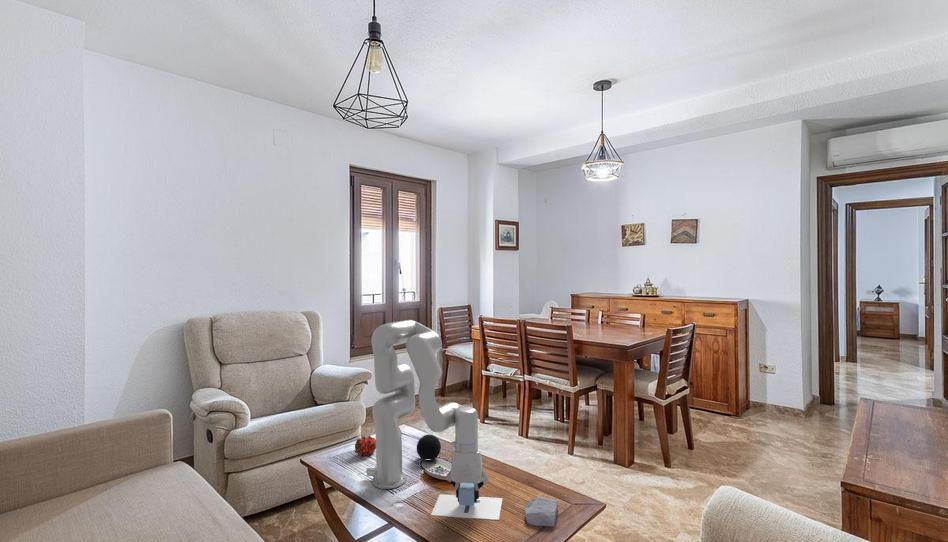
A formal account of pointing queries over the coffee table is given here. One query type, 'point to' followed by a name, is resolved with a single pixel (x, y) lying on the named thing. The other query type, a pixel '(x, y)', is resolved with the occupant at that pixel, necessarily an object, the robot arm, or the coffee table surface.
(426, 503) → the coffee table surface
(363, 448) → the dragon fruit
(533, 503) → the stone block
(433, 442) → the decorative ball
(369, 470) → the robot arm
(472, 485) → the blue cube
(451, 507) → the letter sheet
